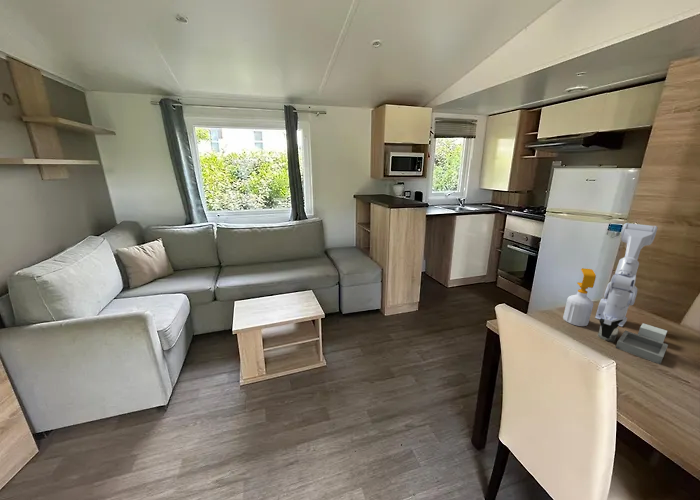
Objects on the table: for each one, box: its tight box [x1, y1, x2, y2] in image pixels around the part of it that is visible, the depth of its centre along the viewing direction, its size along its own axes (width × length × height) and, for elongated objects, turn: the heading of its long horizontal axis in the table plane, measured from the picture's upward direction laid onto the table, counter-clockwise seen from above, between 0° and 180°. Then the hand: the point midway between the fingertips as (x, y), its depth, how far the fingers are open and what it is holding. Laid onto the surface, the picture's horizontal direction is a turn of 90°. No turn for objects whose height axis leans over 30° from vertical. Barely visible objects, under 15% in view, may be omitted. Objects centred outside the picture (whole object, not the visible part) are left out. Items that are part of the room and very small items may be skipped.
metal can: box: [597, 325, 619, 342], centre depth 116 cm, size 5×5×5 cm
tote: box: [615, 330, 669, 365], centre depth 109 cm, size 12×12×3 cm
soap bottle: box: [562, 267, 597, 327], centre depth 125 cm, size 9×9×25 cm
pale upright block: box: [637, 322, 668, 343], centre depth 115 cm, size 7×5×5 cm
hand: (607, 334), depth 116 cm, fingers closed on metal can, 5 cm apart
